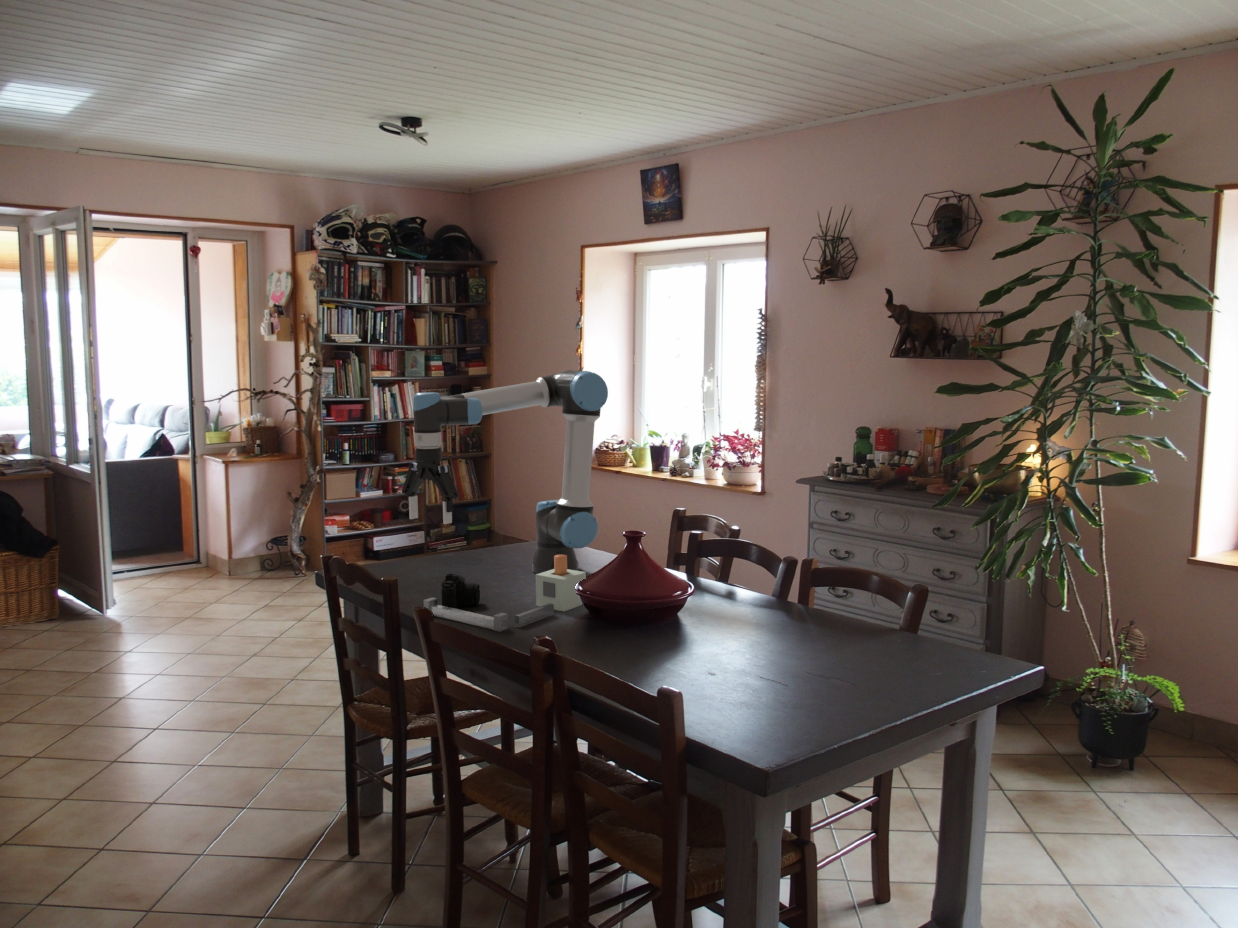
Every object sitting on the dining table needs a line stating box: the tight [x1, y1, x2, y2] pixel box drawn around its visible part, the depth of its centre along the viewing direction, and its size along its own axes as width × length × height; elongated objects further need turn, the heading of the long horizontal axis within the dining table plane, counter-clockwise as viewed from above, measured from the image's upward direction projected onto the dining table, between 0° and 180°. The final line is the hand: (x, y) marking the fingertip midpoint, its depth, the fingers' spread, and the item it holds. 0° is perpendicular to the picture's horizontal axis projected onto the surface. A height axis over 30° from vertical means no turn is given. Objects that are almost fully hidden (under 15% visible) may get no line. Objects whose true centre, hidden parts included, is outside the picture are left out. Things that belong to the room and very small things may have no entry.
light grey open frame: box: [423, 597, 555, 633], centre depth 257 cm, size 20×30×4 cm, turn 54°
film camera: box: [440, 573, 481, 609], centre depth 266 cm, size 15×10×9 cm, turn 179°
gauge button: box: [554, 555, 567, 576], centre depth 265 cm, size 4×4×6 cm
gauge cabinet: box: [535, 569, 587, 612], centre depth 266 cm, size 10×10×9 cm
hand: (430, 521), depth 271 cm, fingers open, 13 cm apart
